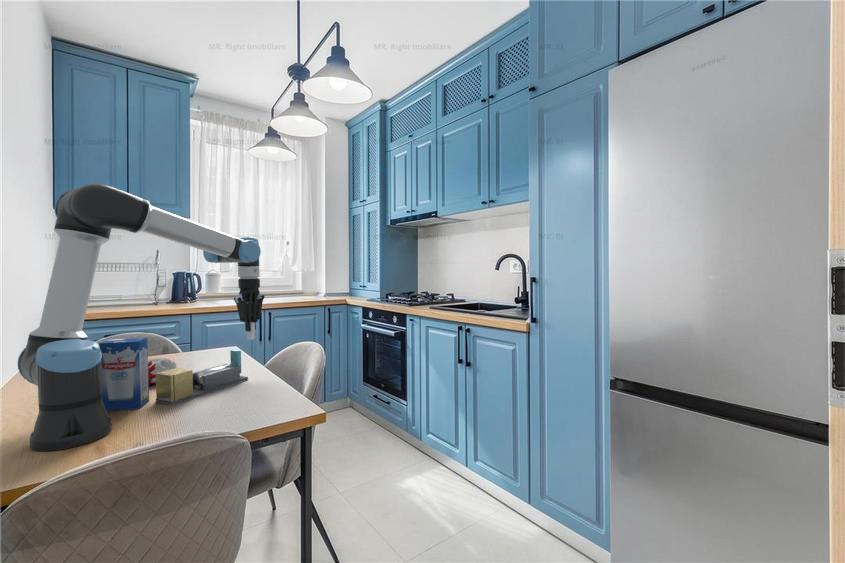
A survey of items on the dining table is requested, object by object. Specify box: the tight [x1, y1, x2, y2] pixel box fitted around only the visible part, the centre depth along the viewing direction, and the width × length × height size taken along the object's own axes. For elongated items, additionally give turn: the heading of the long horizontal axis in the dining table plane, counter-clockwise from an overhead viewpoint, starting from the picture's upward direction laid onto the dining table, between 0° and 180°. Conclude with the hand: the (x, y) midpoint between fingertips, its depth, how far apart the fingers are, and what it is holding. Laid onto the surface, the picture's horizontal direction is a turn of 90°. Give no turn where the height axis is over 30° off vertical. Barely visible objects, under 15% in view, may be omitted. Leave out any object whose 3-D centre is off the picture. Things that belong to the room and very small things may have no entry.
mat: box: [155, 375, 249, 406], centre depth 133 cm, size 29×8×1 cm, turn 157°
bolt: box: [195, 349, 242, 384], centre depth 138 cm, size 16×4×8 cm, turn 157°
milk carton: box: [98, 337, 150, 412], centre depth 117 cm, size 10×6×20 cm, turn 105°
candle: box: [148, 357, 178, 386], centre depth 139 cm, size 9×11×15 cm
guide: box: [155, 363, 241, 402], centre depth 131 cm, size 25×7×8 cm, turn 157°
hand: (250, 339), depth 150 cm, fingers closed
